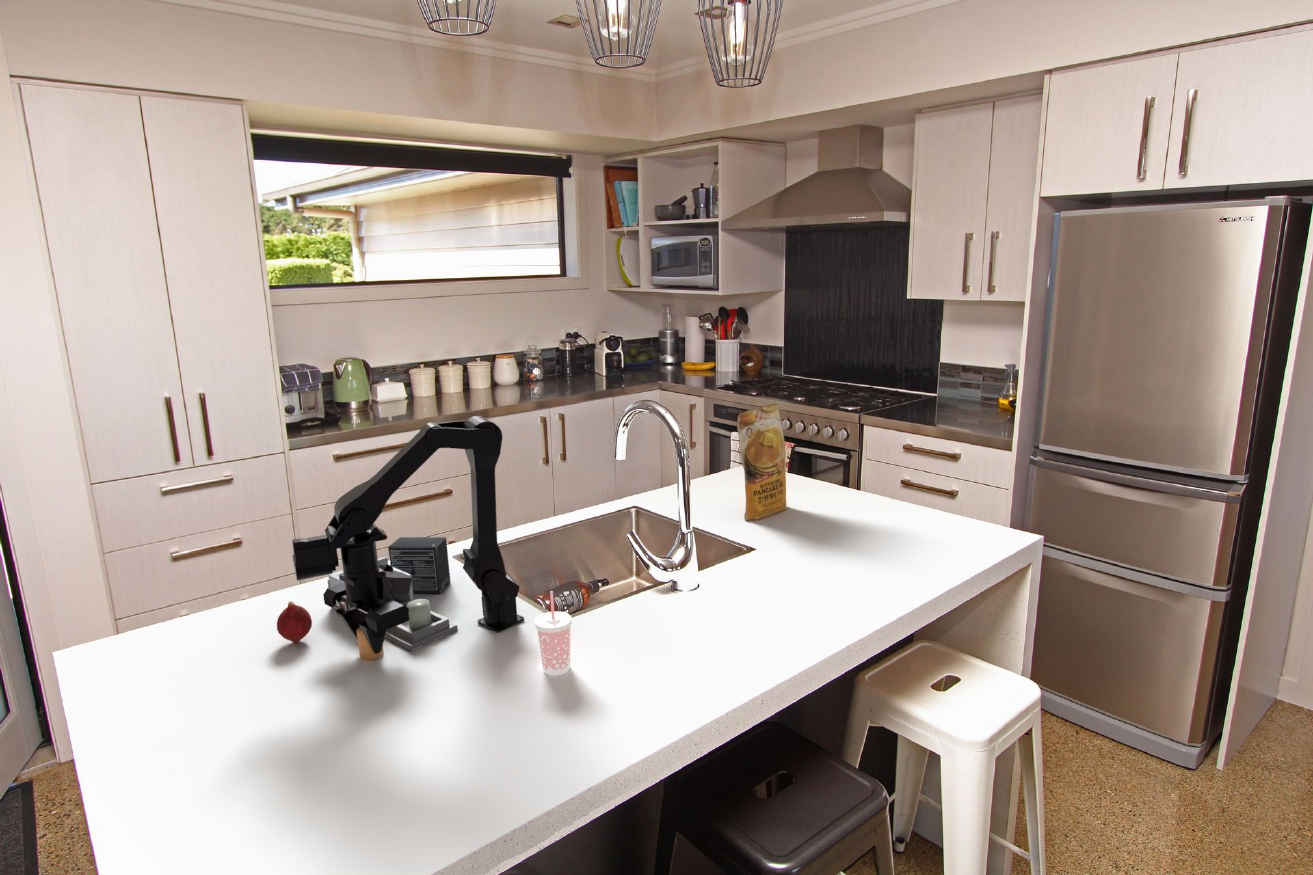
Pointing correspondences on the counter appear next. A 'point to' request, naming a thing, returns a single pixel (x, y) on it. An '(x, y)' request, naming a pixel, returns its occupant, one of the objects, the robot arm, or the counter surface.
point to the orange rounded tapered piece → (366, 647)
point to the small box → (422, 562)
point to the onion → (294, 622)
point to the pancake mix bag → (763, 461)
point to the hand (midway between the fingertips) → (371, 649)
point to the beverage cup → (554, 640)
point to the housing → (417, 624)
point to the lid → (335, 576)
